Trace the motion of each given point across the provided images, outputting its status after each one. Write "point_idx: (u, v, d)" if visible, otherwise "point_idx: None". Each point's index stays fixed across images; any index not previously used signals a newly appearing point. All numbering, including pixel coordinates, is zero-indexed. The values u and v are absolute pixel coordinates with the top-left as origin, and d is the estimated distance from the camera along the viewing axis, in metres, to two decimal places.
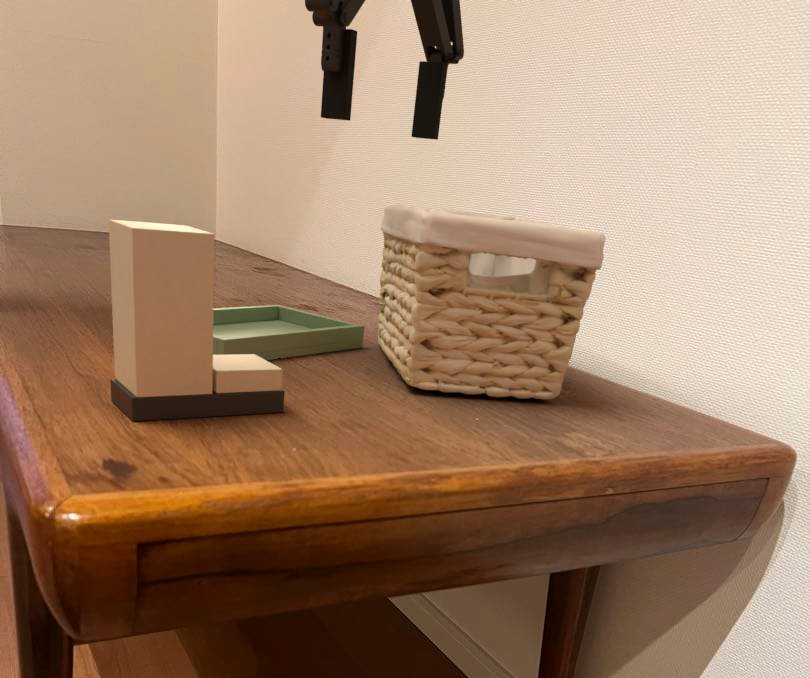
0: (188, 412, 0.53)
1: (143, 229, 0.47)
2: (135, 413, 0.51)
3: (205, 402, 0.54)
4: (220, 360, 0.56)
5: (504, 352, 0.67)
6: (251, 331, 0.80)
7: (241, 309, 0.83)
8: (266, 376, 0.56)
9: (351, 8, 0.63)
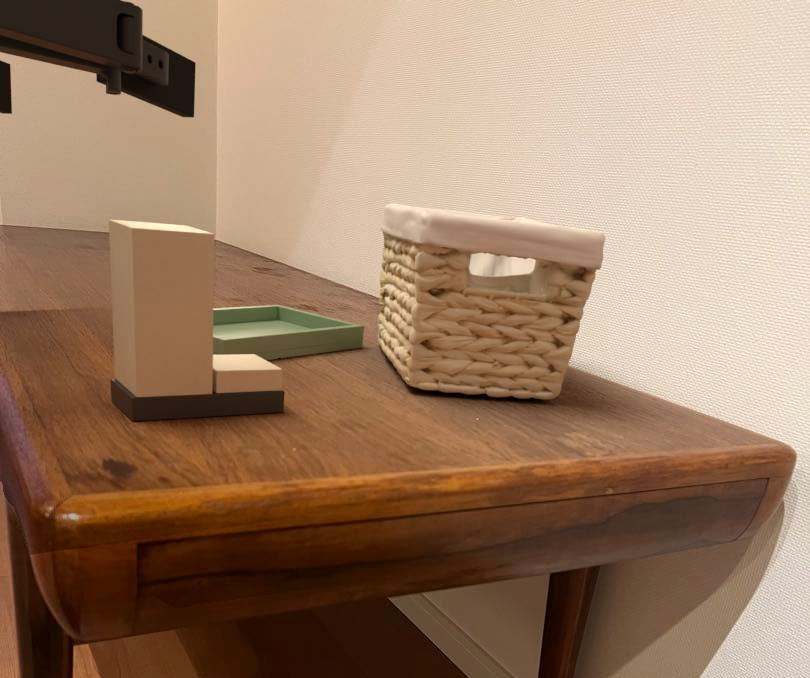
0: (188, 412, 0.53)
1: (143, 229, 0.47)
2: (135, 413, 0.51)
3: (205, 402, 0.54)
4: (220, 360, 0.56)
5: (504, 352, 0.67)
6: (251, 331, 0.80)
7: (241, 309, 0.83)
8: (266, 376, 0.56)
9: None
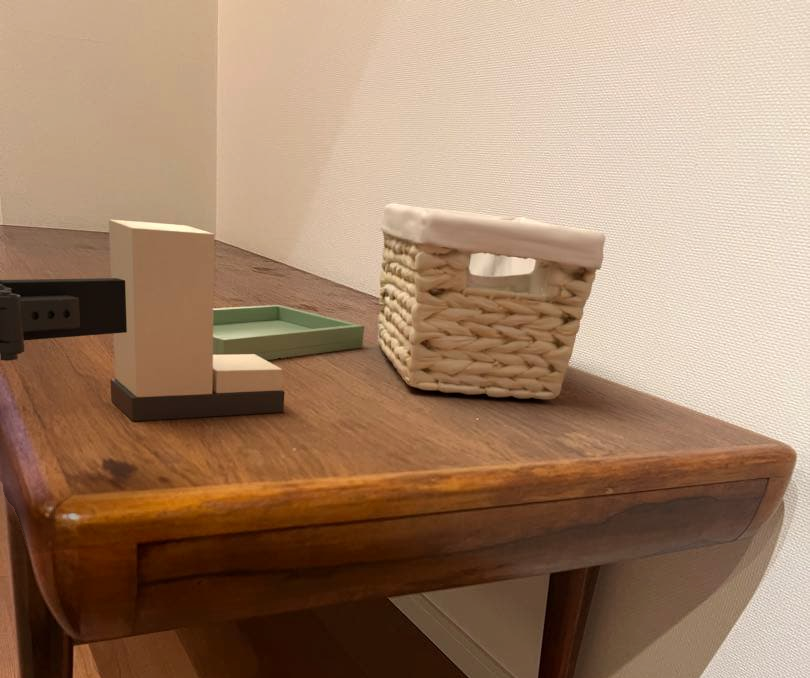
0: (188, 412, 0.53)
1: (143, 229, 0.47)
2: (135, 413, 0.51)
3: (205, 402, 0.54)
4: (220, 360, 0.56)
5: (504, 352, 0.67)
6: (251, 331, 0.80)
7: (241, 309, 0.83)
8: (266, 376, 0.56)
9: None
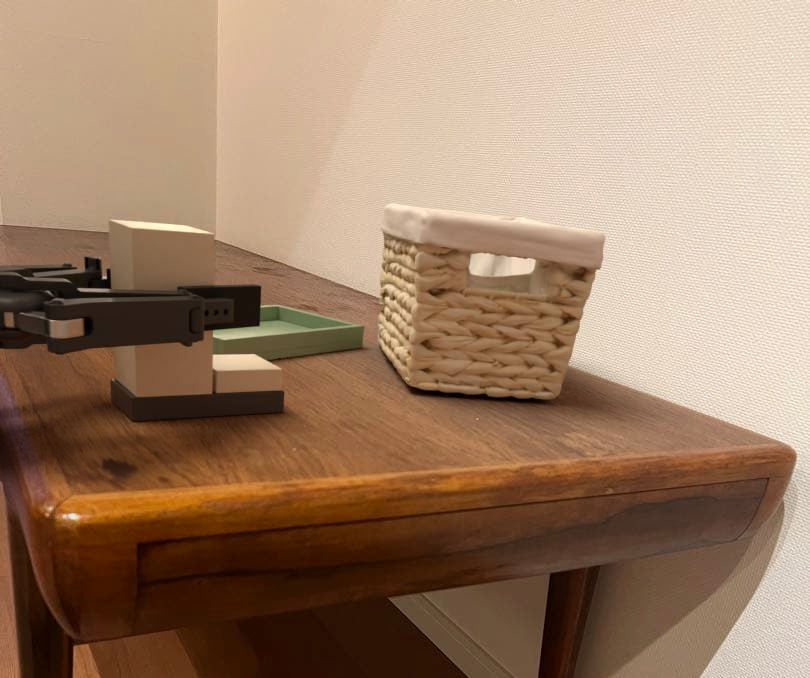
0: (188, 412, 0.53)
1: (143, 229, 0.47)
2: (135, 413, 0.51)
3: (205, 402, 0.54)
4: (220, 360, 0.56)
5: (504, 352, 0.67)
6: (251, 331, 0.80)
7: None
8: (266, 376, 0.56)
9: None
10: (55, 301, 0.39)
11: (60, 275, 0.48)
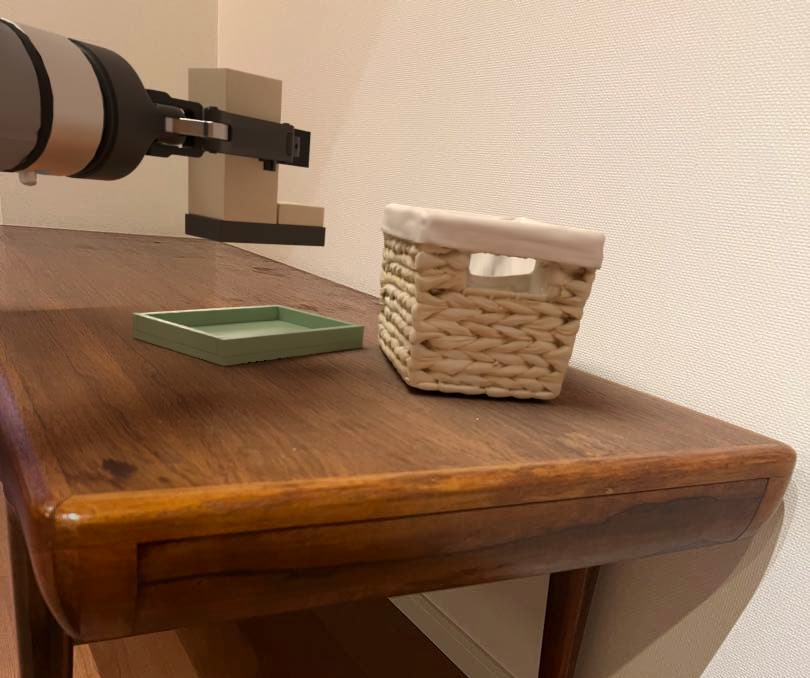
0: (259, 238, 0.64)
1: None
2: (222, 235, 0.61)
3: (271, 230, 0.64)
4: None
5: (504, 352, 0.67)
6: (251, 331, 0.80)
7: (241, 309, 0.83)
8: (313, 212, 0.67)
9: None
10: (213, 107, 0.49)
11: None
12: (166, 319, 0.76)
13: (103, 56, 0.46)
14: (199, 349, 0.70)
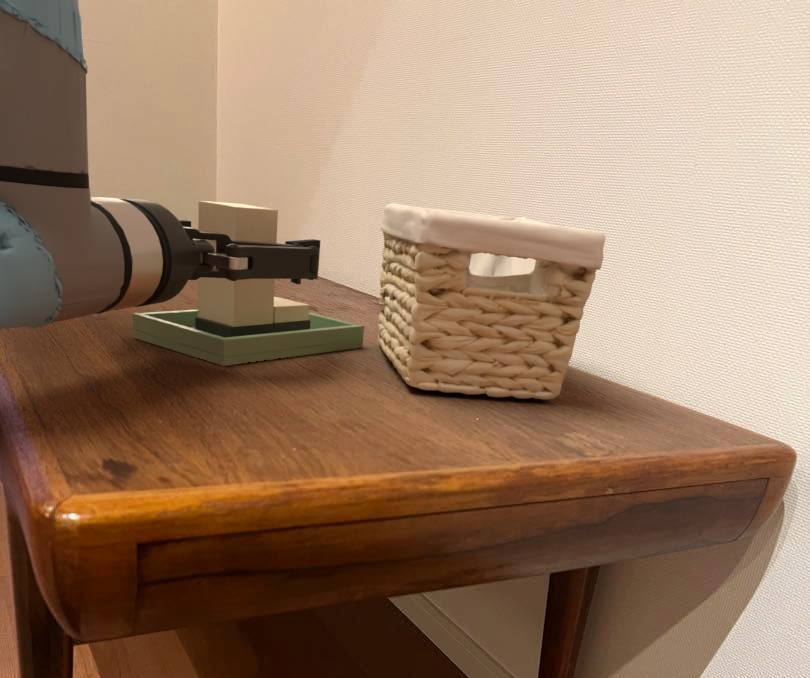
0: None
1: (242, 207, 0.69)
2: None
3: (269, 329, 0.77)
4: None
5: (504, 352, 0.67)
6: None
7: None
8: (301, 310, 0.79)
9: None
10: (233, 244, 0.60)
11: None
12: (166, 319, 0.76)
13: (157, 213, 0.56)
14: (199, 349, 0.70)
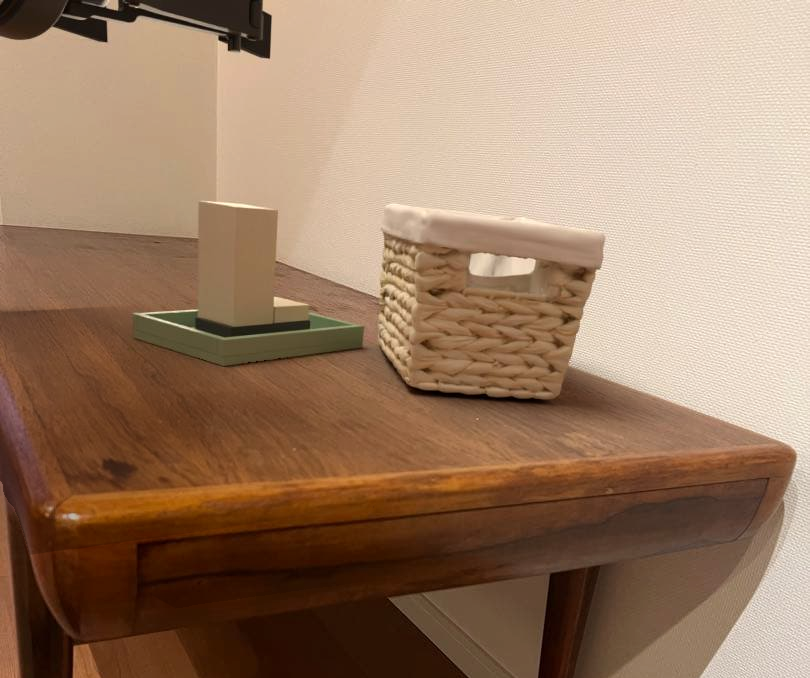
0: None
1: (242, 207, 0.69)
2: None
3: (269, 329, 0.77)
4: None
5: (504, 352, 0.67)
6: None
7: None
8: (301, 310, 0.79)
9: None
10: None
11: None
12: (166, 319, 0.76)
13: None
14: (199, 349, 0.70)
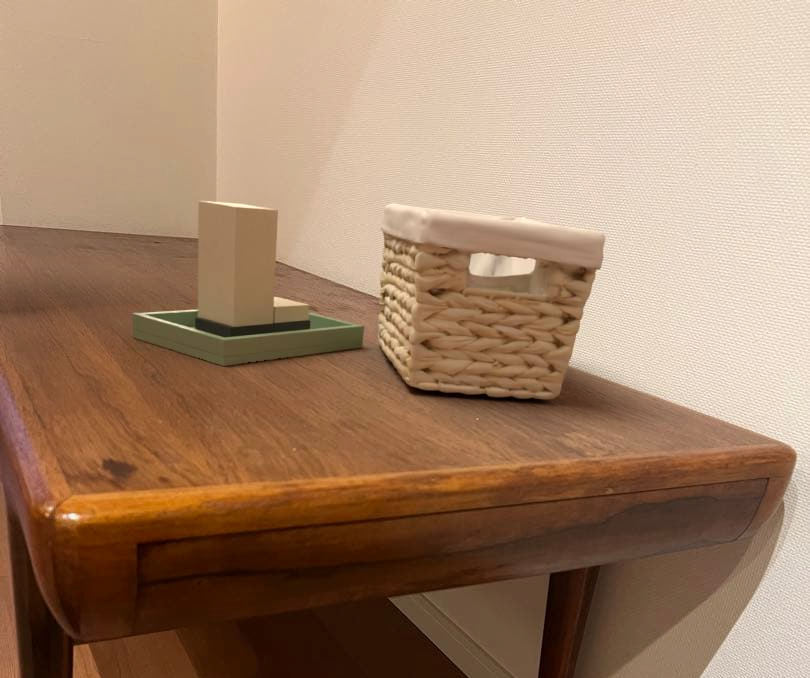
0: None
1: (242, 207, 0.69)
2: None
3: (269, 329, 0.77)
4: None
5: (504, 352, 0.67)
6: None
7: None
8: (301, 310, 0.79)
9: None
10: None
11: None
12: (166, 319, 0.76)
13: None
14: (199, 349, 0.70)
